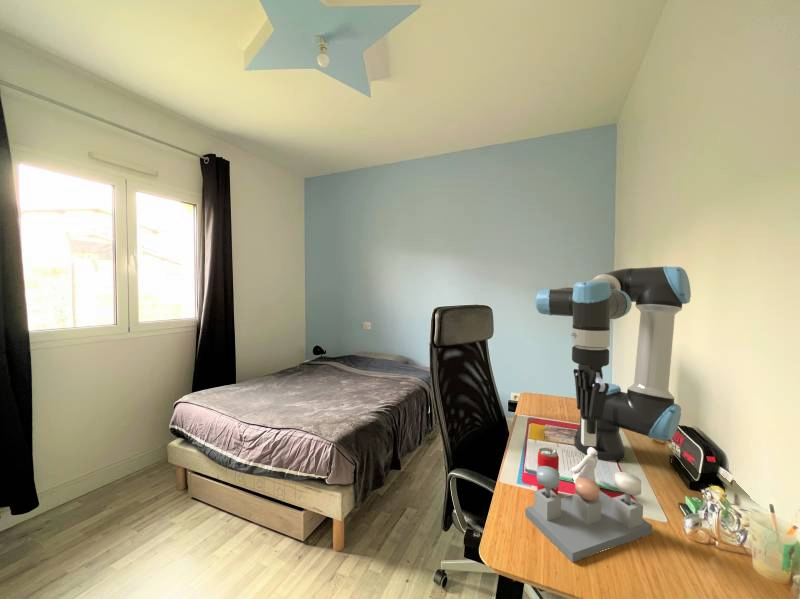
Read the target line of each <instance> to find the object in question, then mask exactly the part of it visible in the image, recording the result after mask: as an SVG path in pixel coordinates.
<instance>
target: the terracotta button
mask: <svg viewBox="0 0 800 599" xmlns="http://www.w3.org/2000/svg"><path fill="white" fill-rule="evenodd" d="M595 481H596V480H595ZM595 481H593V480H591V479H588V478H582V477H580V478H576V480H575V483H574V484H575V485H574V492H575V494H576V493H577V494H578V495H579V496H580V497H582V498H584V500H585V501H587V502H589V501H590V500H591V501H595V500H598V499H599V490H600V485H599V484H598V483H597V481H596V482H595Z"/></svg>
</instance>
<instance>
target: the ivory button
mask: <svg viewBox="0 0 800 599" xmlns="http://www.w3.org/2000/svg"><path fill="white" fill-rule="evenodd" d="M614 487H616V489H618V490H619V491H620V492H623V493H624V494H623V495H624V503H625V504H627V505H628V506H630V505H631V498H632V496H639V495H641V494H642V480H641V479H640V478H639V477H638V476H636V475H634V474H632V473H629V472H624V471H617V472H615V474H614ZM631 495H632V496H631Z"/></svg>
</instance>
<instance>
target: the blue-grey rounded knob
mask: <svg viewBox="0 0 800 599" xmlns="http://www.w3.org/2000/svg"><path fill="white" fill-rule="evenodd" d="M536 481H538V482H539V483H540V484H541V485H543V486H545V497H546V498H550V488H556V487H558V488H559V486H560V472H559V471H557V470H555V469H554V468H551V467H548V466H539V467H538V466H537V468H536Z"/></svg>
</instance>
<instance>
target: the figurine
mask: <svg viewBox="0 0 800 599" xmlns="http://www.w3.org/2000/svg"><path fill="white" fill-rule="evenodd" d="M587 454H588V455H585V457H583V458H582V460H581V461H580V462H579V463H578V464H577V465H575V466H573V467H572V468H571V469H570V472H573V473H575V474H572V475H571V476H572V477H571V479H572V478H573V483H574V484H575V480H576V478H580V477H582V478H588V479H591V480H593V481H595V482H596V483H597V481H596V475H595V469H596V467H597V465H598V461H599V459H598V457H597V454H598V453H597V451H596V450H595V449H594V448H592V447H589V448H588V450H587Z"/></svg>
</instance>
